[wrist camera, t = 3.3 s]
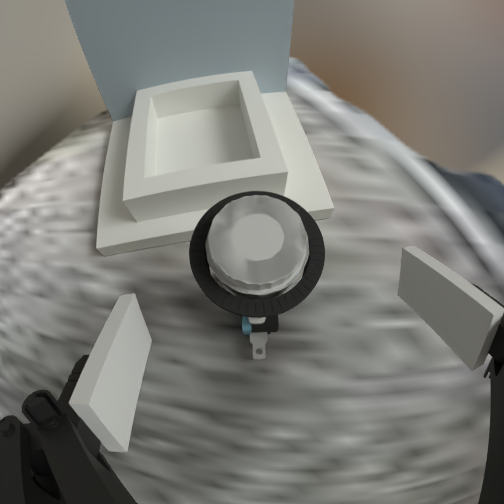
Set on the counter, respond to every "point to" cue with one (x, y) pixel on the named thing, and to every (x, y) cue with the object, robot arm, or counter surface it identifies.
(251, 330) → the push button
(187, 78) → the holder
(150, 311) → the counter surface
